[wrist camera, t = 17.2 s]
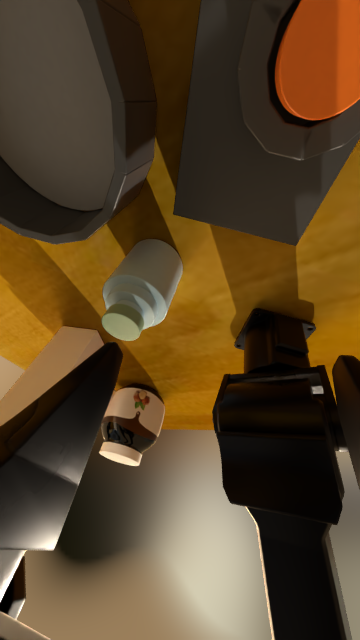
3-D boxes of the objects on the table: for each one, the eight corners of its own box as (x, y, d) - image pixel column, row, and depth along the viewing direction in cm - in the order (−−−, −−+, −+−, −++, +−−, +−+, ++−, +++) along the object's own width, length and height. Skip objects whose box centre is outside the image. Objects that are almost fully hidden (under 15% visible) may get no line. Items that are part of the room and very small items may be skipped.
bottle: (178, 292, 23) (154, 358, 17) (130, 279, 24) (90, 340, 18) (187, 246, 20) (159, 311, 14) (130, 231, 20) (78, 288, 14)
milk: (78, 349, 37) (-41, 521, 22) (62, 324, 33) (-99, 516, 18) (110, 354, 36) (7, 540, 21) (98, 329, 31) (-43, 540, 16)
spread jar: (174, 399, 42) (156, 469, 34) (146, 410, 50) (126, 470, 42) (120, 369, 39) (87, 440, 31) (99, 386, 46) (67, 446, 38)
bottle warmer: (149, 235, 20) (128, 264, 16) (0, 196, 20) (-51, 216, 17) (168, -91, 9) (118, -207, 6) (-143, -153, 10) (-357, -291, 6)
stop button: (338, 125, 10) (352, 130, 8) (260, 108, 10) (262, 109, 9) (411, -17, 7) (449, -43, 6) (305, -39, 7) (317, -69, 6)
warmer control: (291, 233, 17) (300, 259, 14) (179, 204, 17) (166, 224, 14) (462, -78, 8) (572, -169, 5) (227, -122, 8) (216, -229, 6)
